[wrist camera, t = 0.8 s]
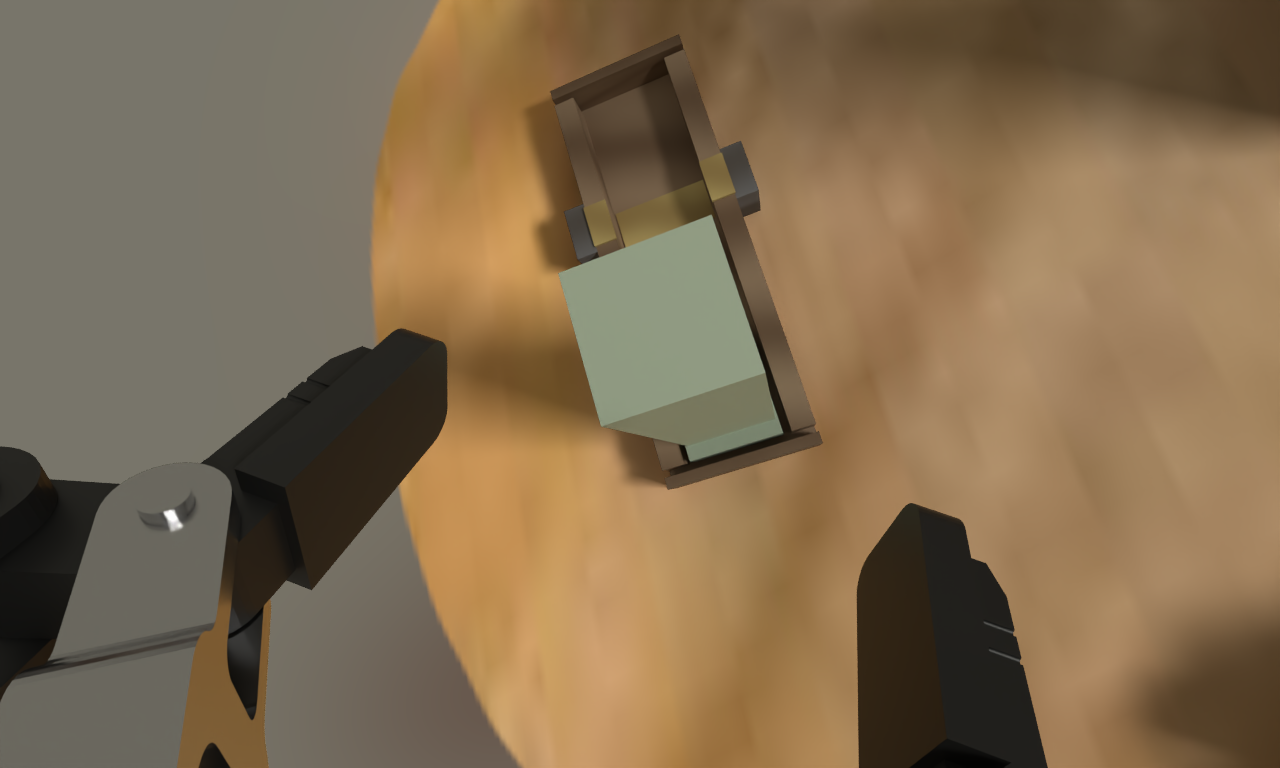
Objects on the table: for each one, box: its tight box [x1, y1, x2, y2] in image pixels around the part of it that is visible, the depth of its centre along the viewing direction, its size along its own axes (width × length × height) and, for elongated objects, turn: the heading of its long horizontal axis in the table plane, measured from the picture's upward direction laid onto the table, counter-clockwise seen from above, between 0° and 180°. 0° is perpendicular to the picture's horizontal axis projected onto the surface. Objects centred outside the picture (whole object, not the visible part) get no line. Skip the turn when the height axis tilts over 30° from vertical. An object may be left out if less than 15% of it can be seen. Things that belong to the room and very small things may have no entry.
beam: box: [550, 35, 823, 490], centre depth 34 cm, size 24×10×3 cm, turn 16°
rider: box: [558, 215, 783, 462], centre depth 24 cm, size 6×5×17 cm
